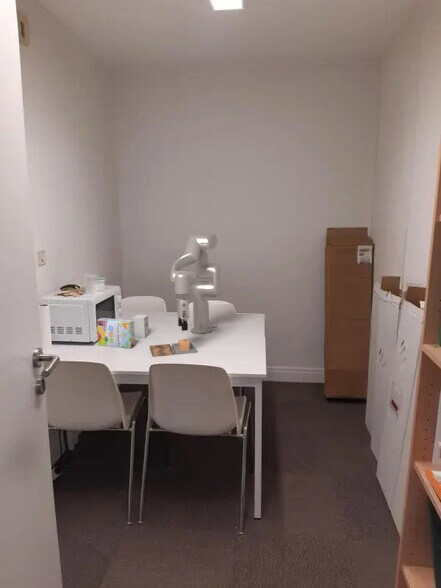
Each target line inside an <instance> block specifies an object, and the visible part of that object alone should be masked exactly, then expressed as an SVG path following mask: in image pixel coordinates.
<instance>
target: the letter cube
mask: <svg viewBox="0 0 441 588" xmlns="http://www.w3.org/2000/svg"><path fill="white" fill-rule="evenodd" d="M189 342H190V340H189V339H188V338H185V339H184V338H183V339H178V340H177V343H178V347H179V350H180V351H183V350H189Z"/></svg>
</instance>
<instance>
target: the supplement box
mask: <svg viewBox="0 0 441 588" xmlns="http://www.w3.org/2000/svg"><path fill="white" fill-rule="evenodd" d="M132 320H134V332H135V339H146V337H148V336H149V335H150V334H149V333H150V331H149V326H150V325H149V314H136V315H134V316H133V317H132Z"/></svg>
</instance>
